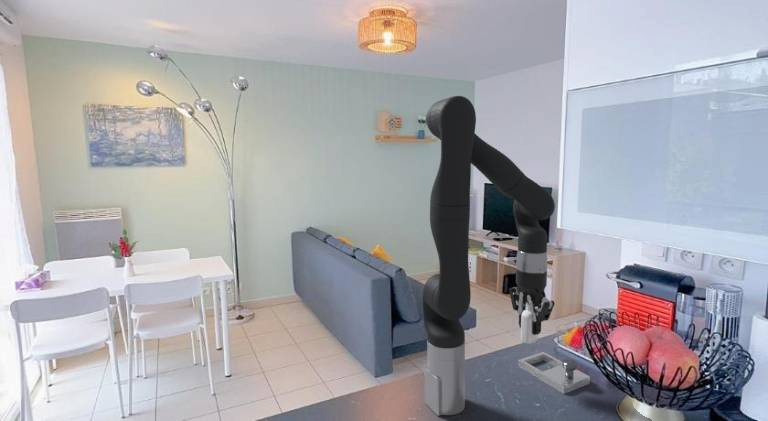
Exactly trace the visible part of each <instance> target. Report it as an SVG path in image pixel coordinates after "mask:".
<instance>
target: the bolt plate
mask: <svg viewBox="0 0 768 421" xmlns="http://www.w3.org/2000/svg"><path fill="white" fill-rule="evenodd" d="M542 361H544V362H546V363H547V364H549V365H551V366H552V368H549V369H546V370H543V371H542V370H540V369H539V368H537V367H535V366H533V365H534V364H537V363H538V362H542ZM517 364H518V368H520V369H522V370H524V371H525V372H527V373H529V374H530V375H532V376H533V377H535V378H537V379H539V381H542V382H544V383H545V384H546V385H549V386H550V387H551V388H553V389H555V390H556V391H558V392H559V393H561V394H563V395H565V394H567V393H570V392H572V391H575V390H577V389H580V388H583V387H584V386H588V385H590V384H591V376H589V375H588V374H586V373H584V372H583V371H580V370H578V362H576V361H575V360H573V359H570V358H567V359H563V360H562V361H561V360H559V359H558V358H555V357H554V356H552V355H551V354H548V353H546V352H544V351H542V352H541V351H540V352H539V353H536V354H532V355H529V356H526V357H523V358H520V359H518V362H517Z"/></svg>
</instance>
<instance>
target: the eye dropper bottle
mask: <svg viewBox="0 0 768 421" xmlns="http://www.w3.org/2000/svg"><path fill="white" fill-rule="evenodd" d="M534 308H536V307H534ZM537 316H538V313H537ZM532 321H533V319H532V313H531V312H530V308H529V305H528V302H526V304H525V310H524V311H523V312H522V315H521V328H520V341H521V343H524V344H527V345H528V344H531V345H532V344H534V343H536V342H537V341H538V338H539V334H537V335H533V334H532Z"/></svg>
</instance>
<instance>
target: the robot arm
mask: <svg viewBox="0 0 768 421" xmlns="http://www.w3.org/2000/svg"><path fill="white" fill-rule="evenodd" d="M476 114H477V113H476V110H475V106H474V104H473V103H472V102H471V100H470V99H469V98H467V97H466V96H464V95H454V96H450V97H446V98H444V99H441V100H439V101H436V102H434V103H432V105H431V106H429V108H428V110H427V111H426V115H425V122H426V127H427V128H428V130H429V132H430V133H431V134H432V135H433V136H435V137H436V138H437V139H439V140H440V152H441V153H440V162H439V165H438V166H439V167H438V169H437V174H436V176H435V179H434V183H433V186H432V188H431V193H430V200H429V225H430V229H431V234H432V238H433V241H434V242H433V243H434V245H435V248H436V252H437V257H438V261H439V262H438V263H439V273H435V274H433V275H431V276H430V277H429V278H428V279H427V280H426V282H425V284H424V286H423V289H422V313H423V314H422V316H423V317H422V318H423V326H424V329H425V332H426V345H427V346H426V347H427V348H426V349H427V350H426V352H427V353H426V354H427V356H426V357H427V367H424V371H423V372H424V374H423V375H424V376H423V377H424V378H423V379H424V403H425V405H427V407H428V408H430V410H431V411H432V412H434V414H435V415H436V416H437V417H440V416H455V415H458V414H461V413H462V412H463V411H464V410H465V408H466V362H465V361H466V358H465V357H466V356H465V355H466V352H465V350H466V348H465V347H466V345H465V344H466V342H465V341H466V335H465V334H466V332H465V329H464V327H463V325H462V324H461V322H460V321H461V320H460V319H462V317H464V316H465V315H466V314H467V311H468V310H469V307H470V305H471V296H472V295H471V281H470V269H469V251H470V250H469V249H470V248H469V247H470V246H469V244H470V243H469V242H470V241H469V239H470V237H469V236H470V234H469V233H470V219H471V217H470V216H471V215H470V214H471V213H470V212H471V177H472V176H471V175H472V166H473V167H475V168H476V169H477V170H478V171H479V172H480V173H481V174H482V175H483V176H484V177H485V178H487V180H488V181H489V182H490V183H491V184H492V185H493V186H494V187H495V188H497V190H498V191H499V192H500V193H501V194H502V195H504V196H506V197H507V198H510V199H513V205H512V206H513V208H512V210H513V211H512V212H513V216H514V222H515V226H516V230H517V233H518V234H517V235H518V236H517V253H516V264H515V269H516V270H515V283H516V285H517V286H514V287H509V288H508V291H509V296H510V301H511V305H512V310H514V311H516V312H517V314H518V326H519V329H521V315H522V312H523V311H524V310H525V304H526V302H528V305H529V308H530V312H531V313H532V319H533V321H532V334H533V335H537V334H538V335H539V334H540V333H541V332H542V323H543V322H544V321H549V319H550V317H551V314H552V312H553V308H554V306H555V305H556V304H555V301H554V300H550V299H549V298H547V297H546V293H545V289H546V287H547V284H548V280H547V279H548V233H547V231H546V230H545V229H544V228H543V227H542V226H541V225H540V223H539V222H540V221H543V220H546V219H548V218H550V217H552V215H553V214H554V212H555V208H556V205H555V200H554V198H553V196H552V195H551V194H550V193H549V191H547V190H546V189H545V188H544V187H542V186H541V185H539V184H538V183H537V182H536V181H534V180H533V179H531V178H529V177H528V176H527V175H526V174H525V173H524V172H523V170H521V169H520V168H519V167H518V166H517V164H516V163H515V162H513V161H512V160H511V158H509V157H508V156H507V155H505V154H504V153H503V152H501V151H500V150H499V149H497V148H495V147H494V146H493V145H491V144H489V143H488V142H486V141H485V140H483V139H482V138H481V137H479V136H478V135H477V134H476V133H475V132H476V124H477V115H476ZM534 307H535V308H534ZM537 313H538V316H537Z"/></svg>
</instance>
